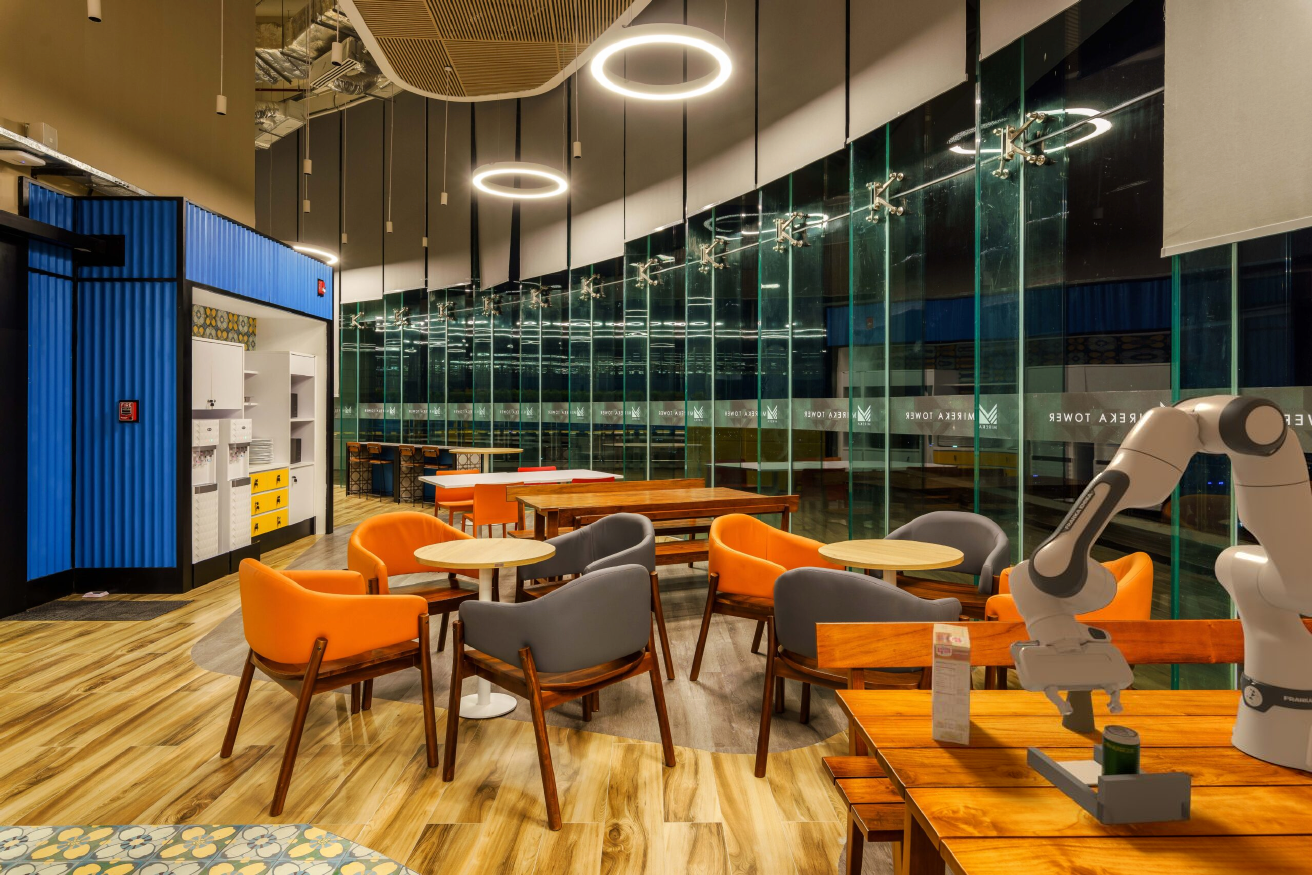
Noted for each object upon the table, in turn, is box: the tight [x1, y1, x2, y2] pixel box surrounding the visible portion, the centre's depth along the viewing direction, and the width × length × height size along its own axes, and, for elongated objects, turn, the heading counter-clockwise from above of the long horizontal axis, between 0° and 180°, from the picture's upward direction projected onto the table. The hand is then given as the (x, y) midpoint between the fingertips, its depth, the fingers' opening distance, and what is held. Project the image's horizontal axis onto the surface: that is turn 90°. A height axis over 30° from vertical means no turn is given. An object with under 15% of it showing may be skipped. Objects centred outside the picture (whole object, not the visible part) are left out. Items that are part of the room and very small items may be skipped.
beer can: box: [1101, 724, 1141, 776], centre depth 121 cm, size 5×5×12 cm
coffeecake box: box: [931, 623, 972, 746], centre depth 149 cm, size 15×7×20 cm, turn 159°
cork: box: [1061, 690, 1096, 734], centre depth 150 cm, size 6×6×11 cm
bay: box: [1026, 743, 1192, 825], centre depth 125 cm, size 15×20×7 cm
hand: (1092, 712), depth 127 cm, fingers open, 8 cm apart
